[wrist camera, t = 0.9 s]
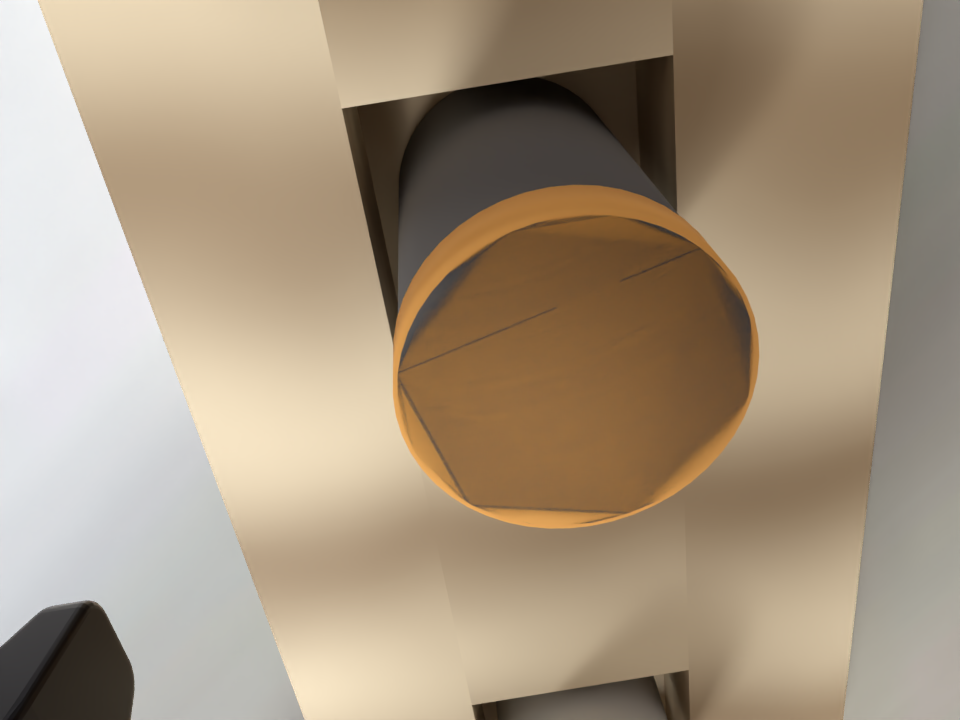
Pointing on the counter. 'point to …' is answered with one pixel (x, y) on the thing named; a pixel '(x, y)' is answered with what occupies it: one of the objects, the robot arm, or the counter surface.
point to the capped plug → (557, 316)
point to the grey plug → (590, 703)
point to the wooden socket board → (374, 309)
